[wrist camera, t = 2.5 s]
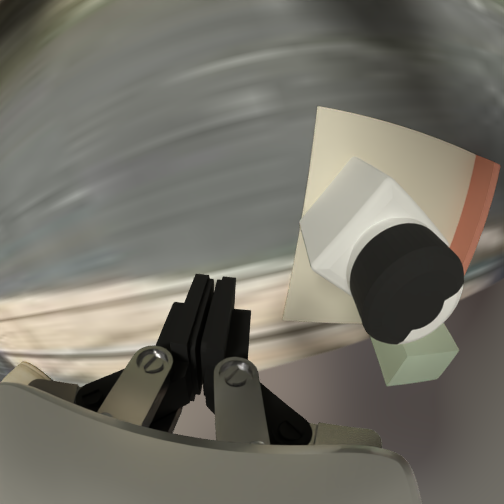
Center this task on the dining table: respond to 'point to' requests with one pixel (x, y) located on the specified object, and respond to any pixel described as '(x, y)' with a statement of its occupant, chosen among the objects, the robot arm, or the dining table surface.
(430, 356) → the tea box
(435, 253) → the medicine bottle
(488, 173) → the cream flat block
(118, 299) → the dining table surface
